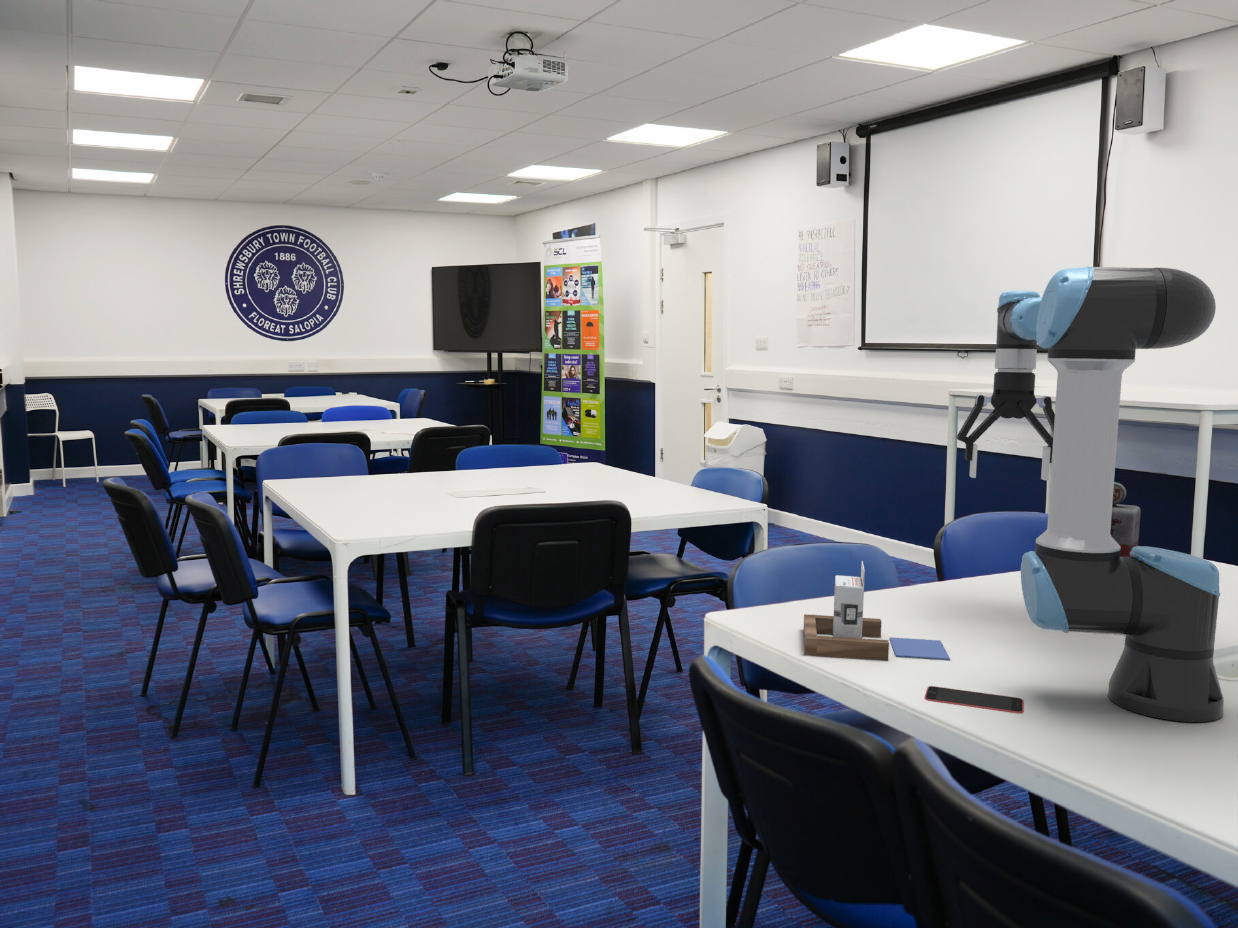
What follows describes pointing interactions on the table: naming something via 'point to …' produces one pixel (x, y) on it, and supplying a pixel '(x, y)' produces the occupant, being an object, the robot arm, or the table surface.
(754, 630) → the table surface
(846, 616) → the ink box
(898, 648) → the pad
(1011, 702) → the smartphone
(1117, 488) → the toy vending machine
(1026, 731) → the table surface
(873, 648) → the bay
